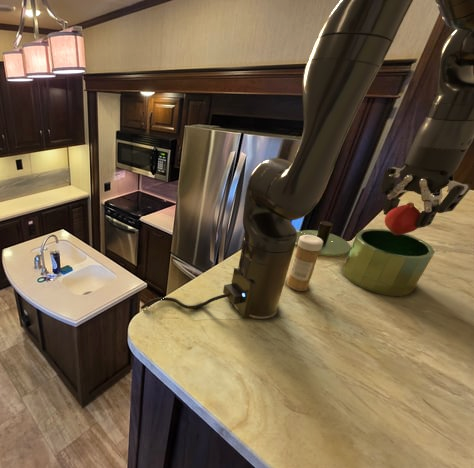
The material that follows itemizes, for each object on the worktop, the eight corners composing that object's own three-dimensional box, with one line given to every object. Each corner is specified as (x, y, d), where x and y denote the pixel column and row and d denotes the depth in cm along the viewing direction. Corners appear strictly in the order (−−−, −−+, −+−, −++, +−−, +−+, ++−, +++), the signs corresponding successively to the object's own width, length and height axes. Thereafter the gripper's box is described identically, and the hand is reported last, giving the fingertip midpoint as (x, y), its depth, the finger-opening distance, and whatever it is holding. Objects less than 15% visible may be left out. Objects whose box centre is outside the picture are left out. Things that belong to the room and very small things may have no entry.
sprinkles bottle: (311, 286, 71) (327, 239, 64) (301, 294, 68) (317, 246, 62) (292, 277, 74) (305, 232, 67) (282, 284, 72) (295, 238, 65)
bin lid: (318, 261, 79) (326, 239, 76) (281, 237, 91) (286, 217, 88) (362, 253, 81) (371, 230, 78) (320, 230, 94) (326, 210, 90)
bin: (381, 300, 65) (400, 262, 60) (330, 268, 76) (343, 233, 71) (428, 290, 67) (451, 252, 62) (371, 259, 78) (387, 225, 73)
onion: (379, 226, 69) (393, 195, 65) (412, 232, 66) (429, 200, 62) (378, 236, 65) (393, 204, 61) (414, 243, 62) (431, 209, 58)
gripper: (386, 138, 61) (358, 210, 69) (473, 153, 49) (427, 238, 57) (414, 134, 62) (384, 205, 71) (507, 148, 50) (457, 232, 58)
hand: (403, 220), depth 64 cm, fingers closed on onion, 6 cm apart
